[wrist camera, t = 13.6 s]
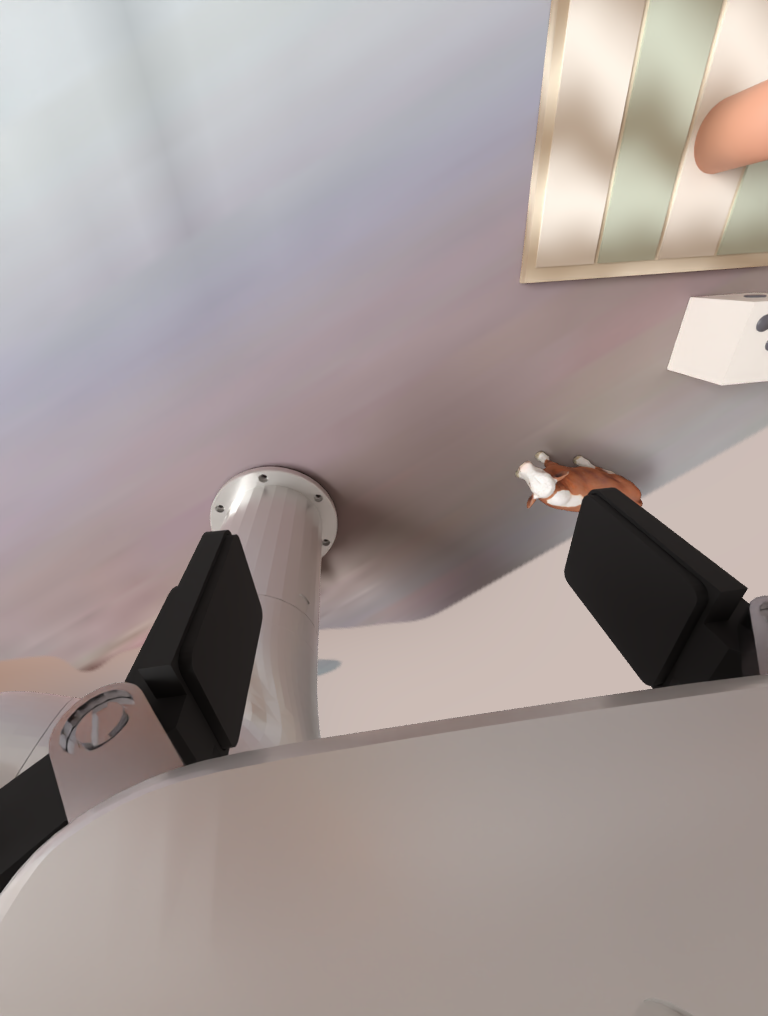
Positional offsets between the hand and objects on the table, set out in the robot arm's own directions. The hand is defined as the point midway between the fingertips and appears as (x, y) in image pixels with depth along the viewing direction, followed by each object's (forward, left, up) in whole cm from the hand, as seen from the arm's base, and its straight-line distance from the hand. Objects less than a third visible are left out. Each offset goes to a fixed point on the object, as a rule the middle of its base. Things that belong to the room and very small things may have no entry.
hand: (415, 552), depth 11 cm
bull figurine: (-12, -19, -27) cm, 35 cm away
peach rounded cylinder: (+13, -27, -25) cm, 39 cm away
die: (0, -32, -26) cm, 41 cm away
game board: (+13, -24, -26) cm, 38 cm away
